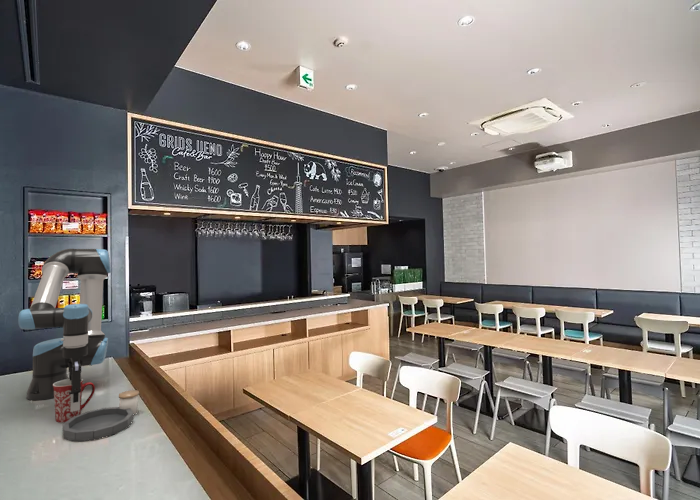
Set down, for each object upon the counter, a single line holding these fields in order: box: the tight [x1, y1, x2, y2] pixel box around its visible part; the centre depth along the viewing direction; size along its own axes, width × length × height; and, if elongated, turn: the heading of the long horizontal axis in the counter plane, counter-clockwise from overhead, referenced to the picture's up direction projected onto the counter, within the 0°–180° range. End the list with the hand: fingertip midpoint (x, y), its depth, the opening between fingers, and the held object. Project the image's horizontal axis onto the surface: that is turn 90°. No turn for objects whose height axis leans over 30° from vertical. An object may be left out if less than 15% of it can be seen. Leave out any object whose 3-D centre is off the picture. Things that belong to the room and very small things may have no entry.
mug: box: [53, 377, 96, 423], centre depth 136 cm, size 13×9×14 cm
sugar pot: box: [118, 389, 140, 415], centre depth 139 cm, size 7×7×8 cm
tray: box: [62, 406, 134, 443], centre depth 128 cm, size 20×20×3 cm
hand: (74, 406), depth 136 cm, fingers closed on mug, 8 cm apart
